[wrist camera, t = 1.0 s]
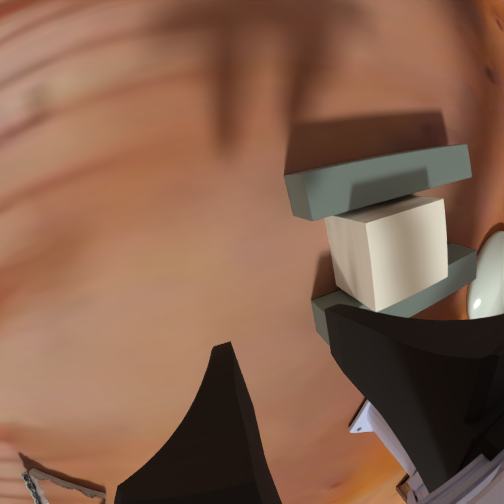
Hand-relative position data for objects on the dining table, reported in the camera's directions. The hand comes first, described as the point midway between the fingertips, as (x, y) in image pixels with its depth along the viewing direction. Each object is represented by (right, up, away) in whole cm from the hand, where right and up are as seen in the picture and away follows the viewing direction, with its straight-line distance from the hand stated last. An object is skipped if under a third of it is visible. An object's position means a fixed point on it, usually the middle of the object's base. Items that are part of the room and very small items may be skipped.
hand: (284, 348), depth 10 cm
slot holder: (+9, +5, +10) cm, 14 cm away
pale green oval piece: (+25, 0, +14) cm, 29 cm away
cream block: (+7, +4, +9) cm, 12 cm away
